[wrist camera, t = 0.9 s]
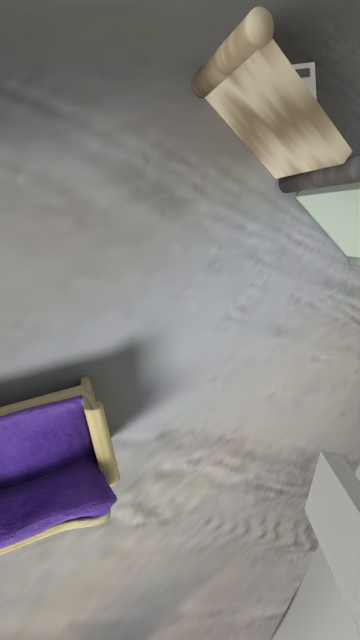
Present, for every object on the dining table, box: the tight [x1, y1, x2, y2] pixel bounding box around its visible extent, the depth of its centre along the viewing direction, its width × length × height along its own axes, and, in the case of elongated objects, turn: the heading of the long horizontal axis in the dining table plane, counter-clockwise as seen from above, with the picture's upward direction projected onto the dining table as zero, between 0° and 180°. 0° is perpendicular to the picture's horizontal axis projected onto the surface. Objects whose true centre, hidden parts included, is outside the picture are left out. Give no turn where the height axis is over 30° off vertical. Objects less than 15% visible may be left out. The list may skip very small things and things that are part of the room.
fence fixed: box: [192, 7, 360, 193], centre depth 28 cm, size 14×2×10 cm, turn 52°
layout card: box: [292, 62, 316, 99], centre depth 32 cm, size 6×6×1 cm
